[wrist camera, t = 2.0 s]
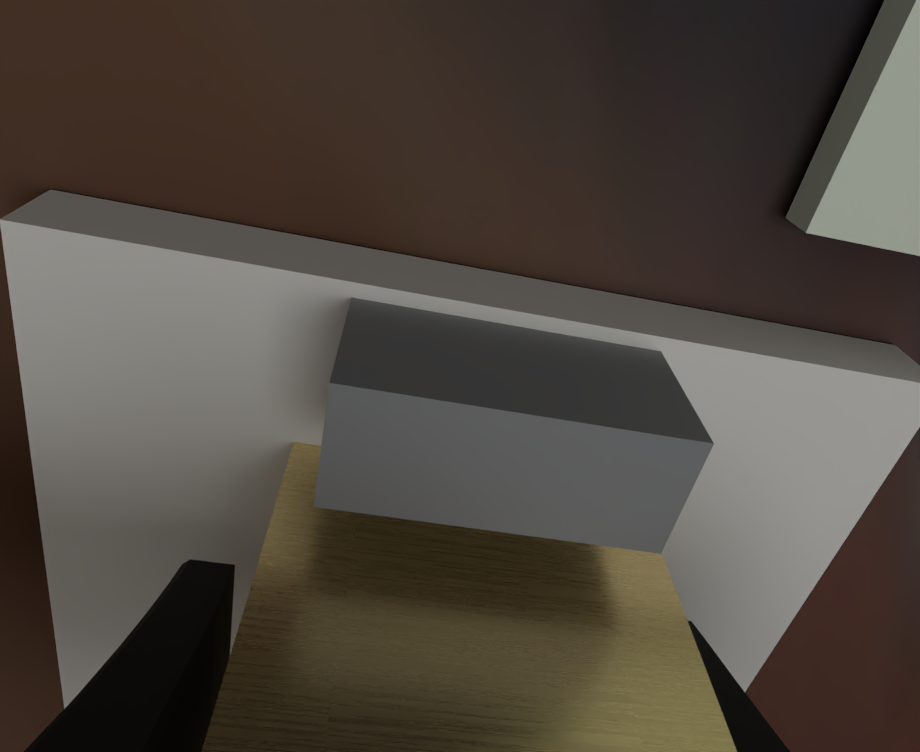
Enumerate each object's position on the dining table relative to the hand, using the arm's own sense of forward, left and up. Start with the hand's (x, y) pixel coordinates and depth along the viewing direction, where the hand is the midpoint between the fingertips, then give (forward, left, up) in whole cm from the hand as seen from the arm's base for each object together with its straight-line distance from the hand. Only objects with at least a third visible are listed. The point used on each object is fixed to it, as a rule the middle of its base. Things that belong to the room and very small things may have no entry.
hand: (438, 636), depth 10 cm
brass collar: (0, 0, -1) cm, 1 cm away
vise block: (0, 0, -2) cm, 2 cm away
